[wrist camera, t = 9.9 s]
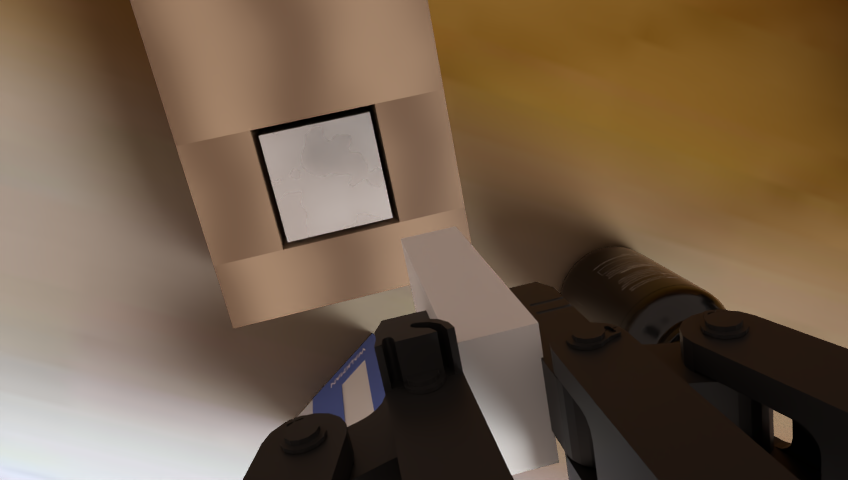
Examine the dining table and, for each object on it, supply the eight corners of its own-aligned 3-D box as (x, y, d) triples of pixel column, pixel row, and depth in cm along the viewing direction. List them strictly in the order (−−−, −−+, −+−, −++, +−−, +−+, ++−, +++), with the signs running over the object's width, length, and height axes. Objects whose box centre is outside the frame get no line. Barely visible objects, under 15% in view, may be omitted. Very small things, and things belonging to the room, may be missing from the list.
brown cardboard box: (356, -219, 31) (370, -314, 23) (443, 229, 38) (475, 268, 30) (113, -182, 30) (44, -270, 22) (249, 275, 37) (233, 328, 29)
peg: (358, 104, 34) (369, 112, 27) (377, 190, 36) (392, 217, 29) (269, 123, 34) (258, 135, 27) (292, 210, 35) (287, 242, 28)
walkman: (371, 332, 39) (395, 439, 28) (403, 356, 40) (440, 470, 28) (291, 420, 40) (282, 562, 28) (324, 443, 40) (329, 588, 29)
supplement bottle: (541, 325, 41) (629, 422, 30) (581, 230, 40) (689, 295, 28) (627, 350, 43) (742, 452, 31) (668, 261, 41) (804, 332, 30)
